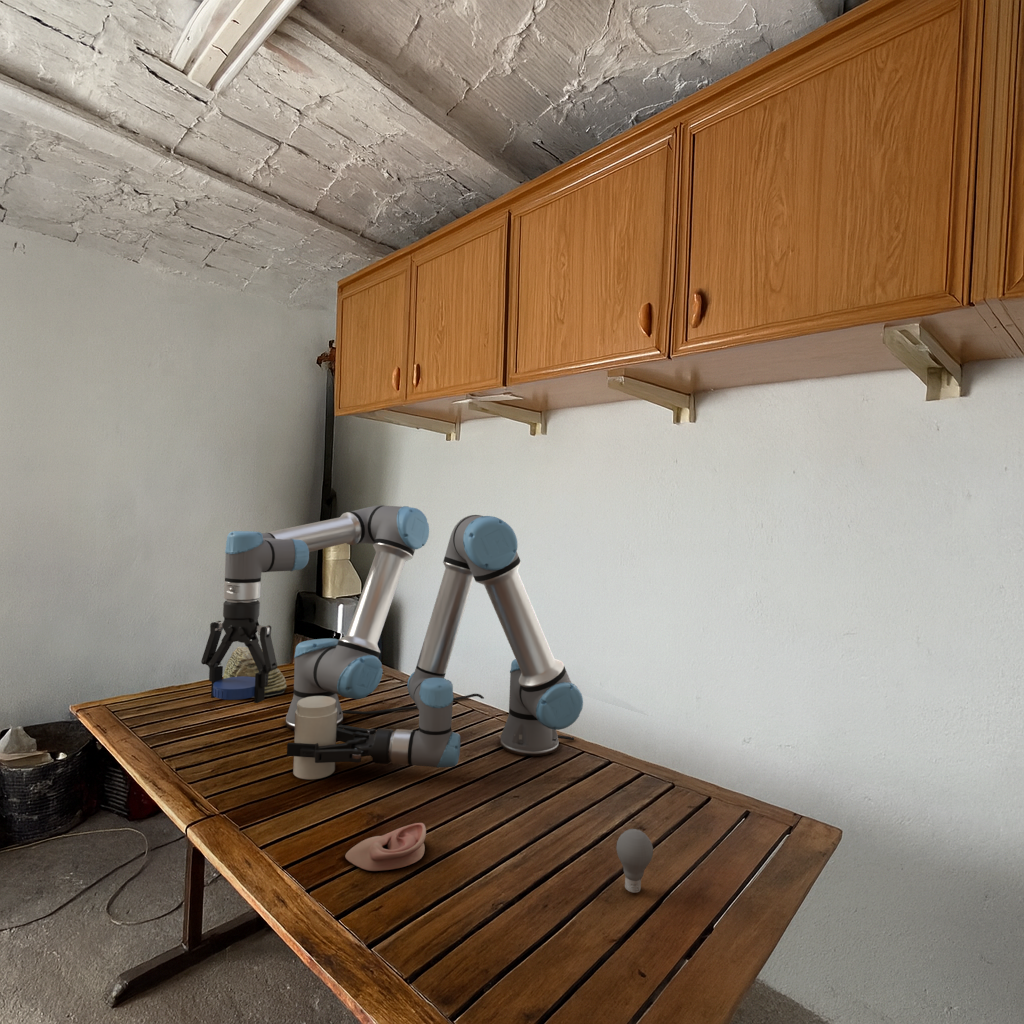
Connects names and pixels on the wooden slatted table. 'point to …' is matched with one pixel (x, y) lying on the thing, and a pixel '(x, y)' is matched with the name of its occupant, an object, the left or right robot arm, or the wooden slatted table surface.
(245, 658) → the fossil
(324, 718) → the jar
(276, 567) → the left robot arm
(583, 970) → the wooden slatted table surface
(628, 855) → the light bulb
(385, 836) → the anatomical model
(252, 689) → the lid
